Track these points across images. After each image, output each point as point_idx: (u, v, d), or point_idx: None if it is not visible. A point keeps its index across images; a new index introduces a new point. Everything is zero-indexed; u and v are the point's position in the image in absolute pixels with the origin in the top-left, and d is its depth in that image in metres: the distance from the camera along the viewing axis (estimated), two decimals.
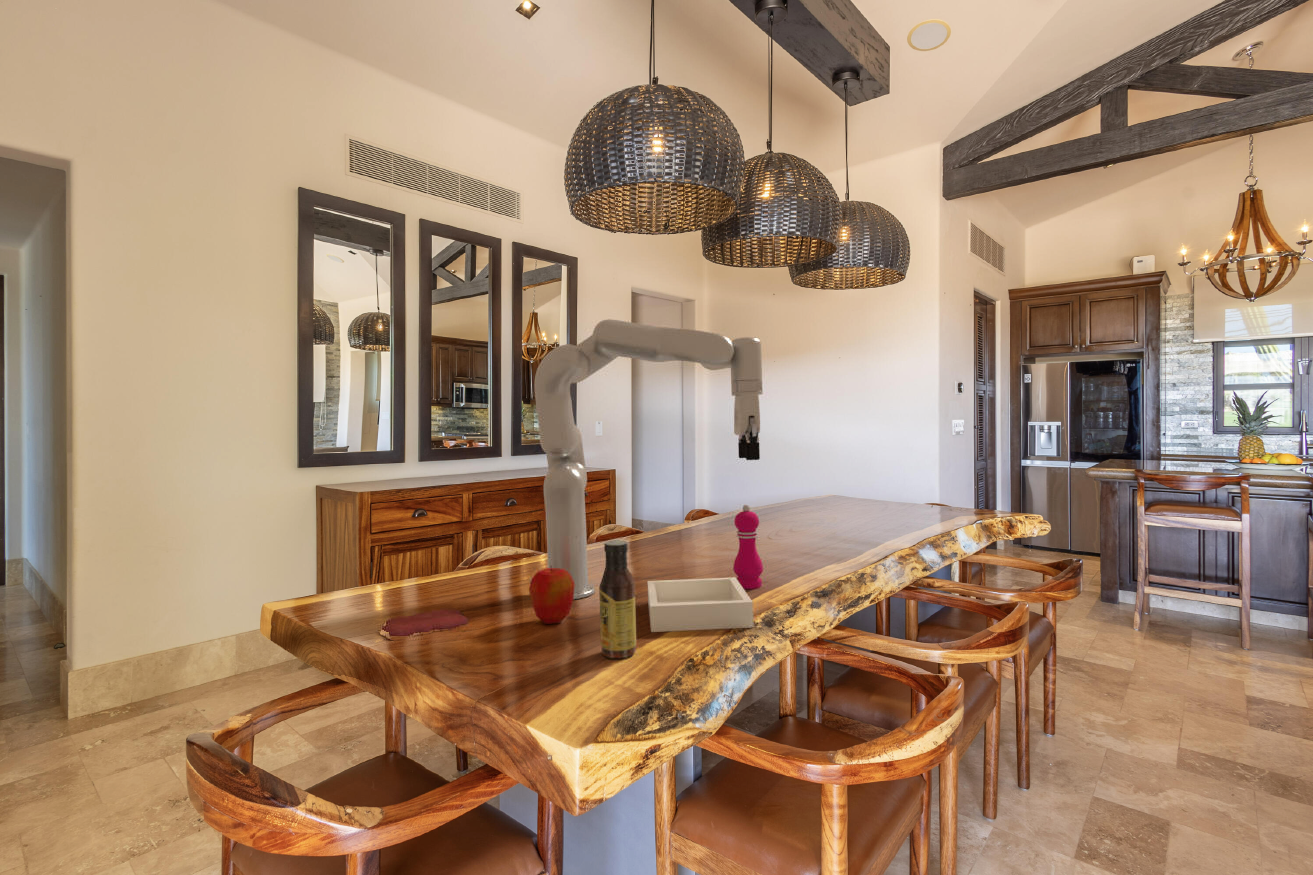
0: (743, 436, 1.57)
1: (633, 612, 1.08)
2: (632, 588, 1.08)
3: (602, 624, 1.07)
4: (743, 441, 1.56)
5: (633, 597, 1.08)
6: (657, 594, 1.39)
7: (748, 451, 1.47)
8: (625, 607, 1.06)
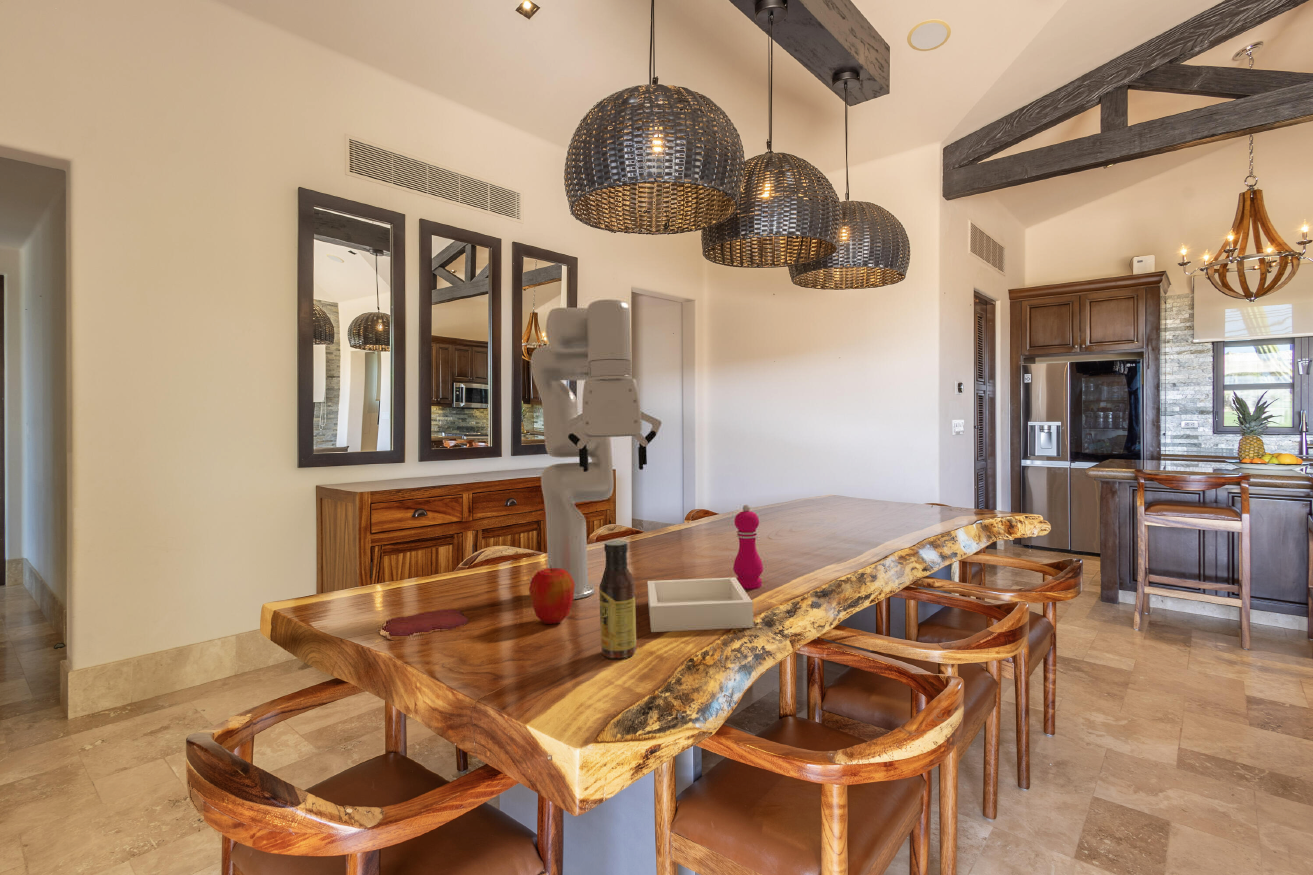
0: (580, 440, 1.08)
1: (633, 612, 1.08)
2: (632, 588, 1.08)
3: (602, 624, 1.07)
4: (585, 447, 1.08)
5: (633, 597, 1.08)
6: (657, 594, 1.39)
7: (642, 457, 1.08)
8: (625, 607, 1.06)
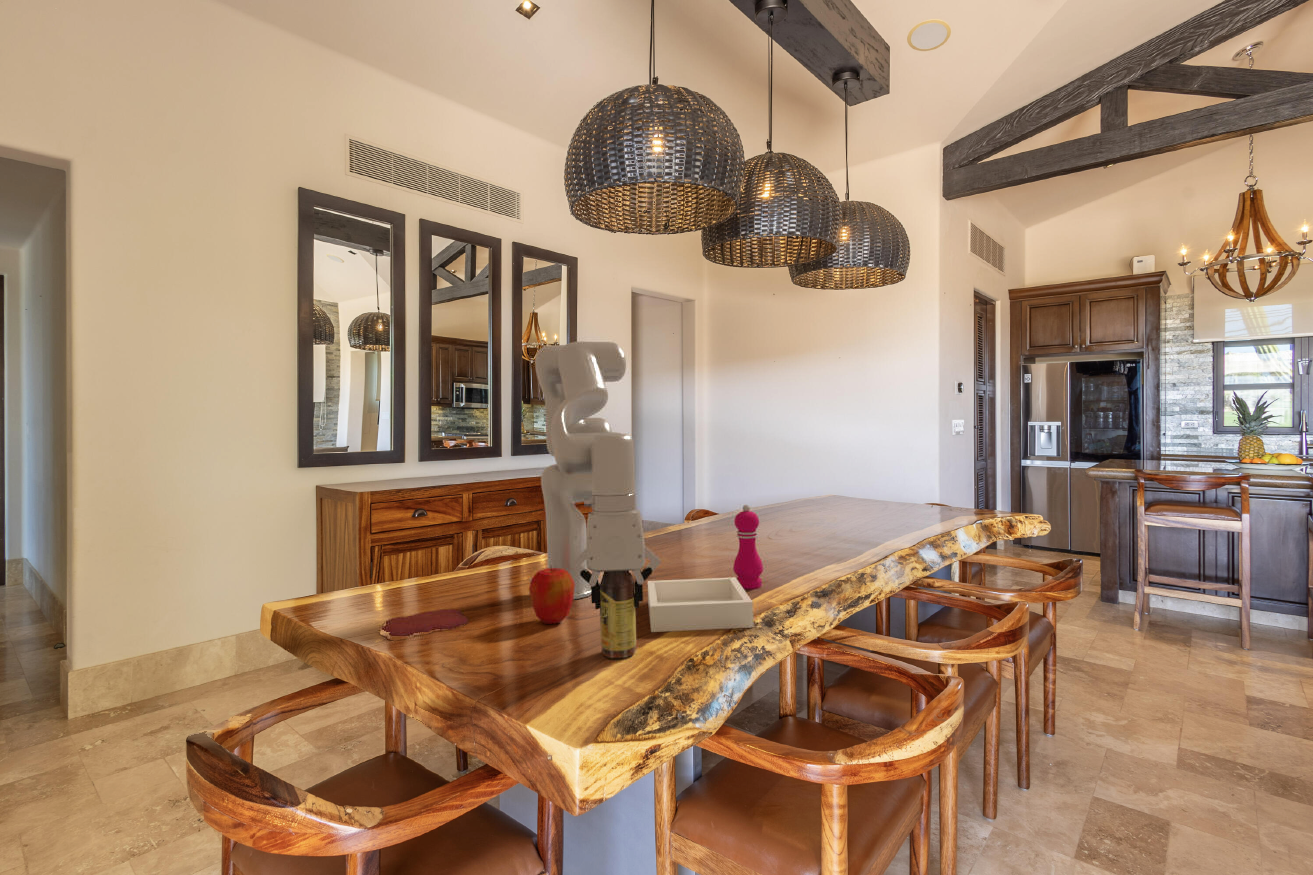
0: None
1: (633, 612, 1.08)
2: (632, 588, 1.08)
3: (602, 624, 1.07)
4: (598, 582, 1.08)
5: (633, 597, 1.08)
6: (657, 594, 1.39)
7: (638, 595, 1.08)
8: (625, 607, 1.06)
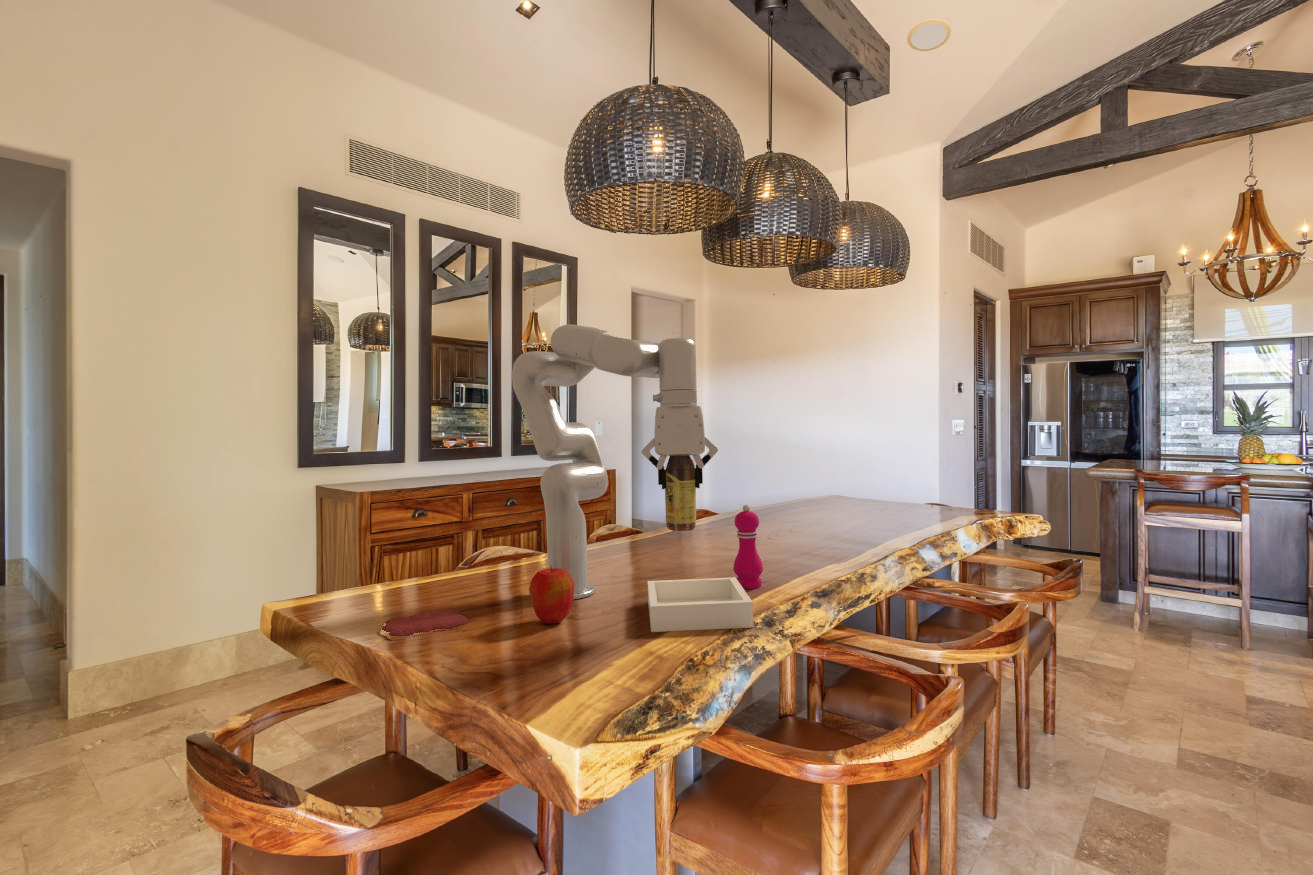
0: None
1: (694, 492, 1.25)
2: (693, 471, 1.25)
3: (667, 502, 1.25)
4: None
5: (694, 479, 1.25)
6: (657, 594, 1.39)
7: (699, 477, 1.25)
8: (688, 486, 1.24)
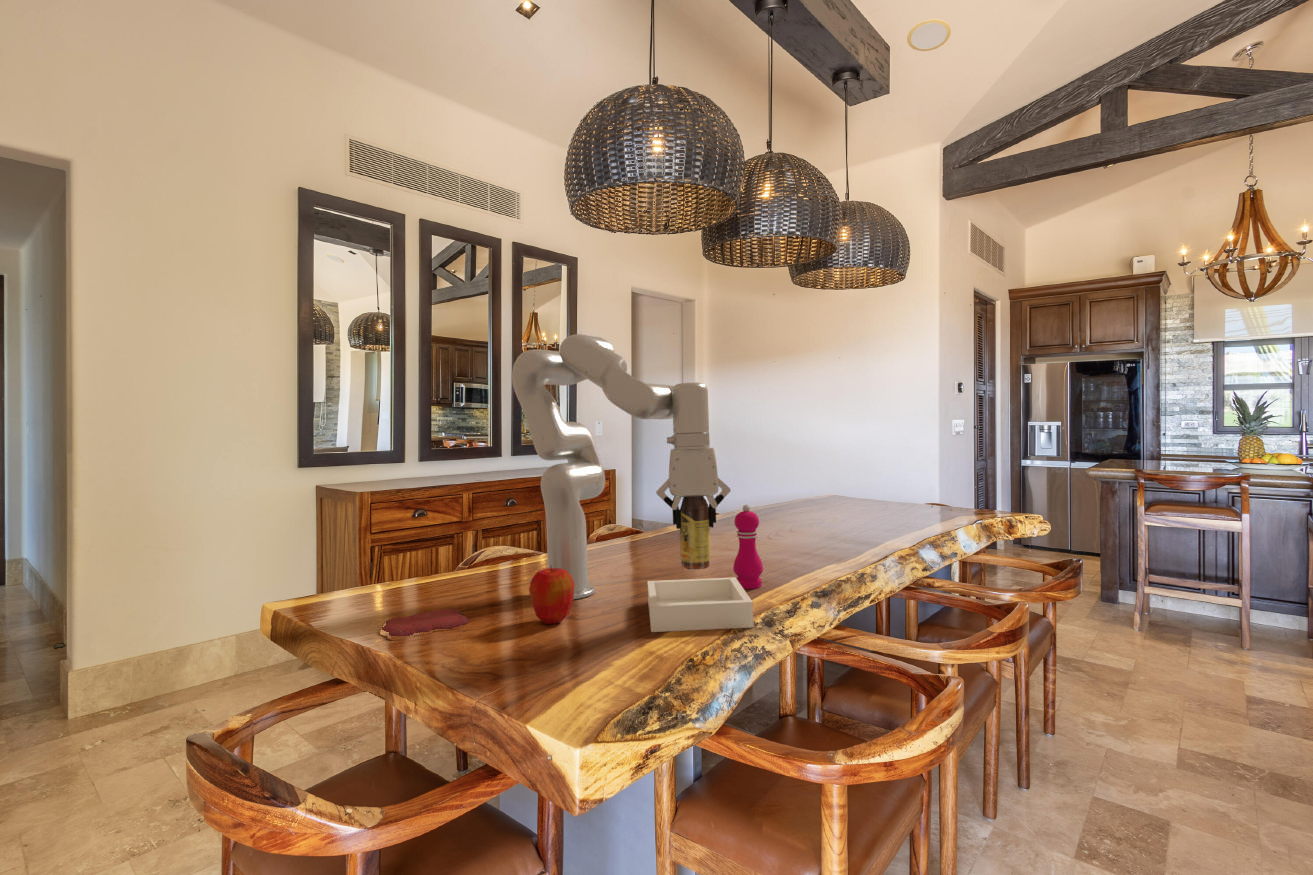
0: None
1: (708, 531, 1.29)
2: (707, 511, 1.29)
3: (683, 541, 1.29)
4: None
5: (708, 519, 1.29)
6: (657, 594, 1.39)
7: (712, 517, 1.29)
8: (703, 526, 1.28)
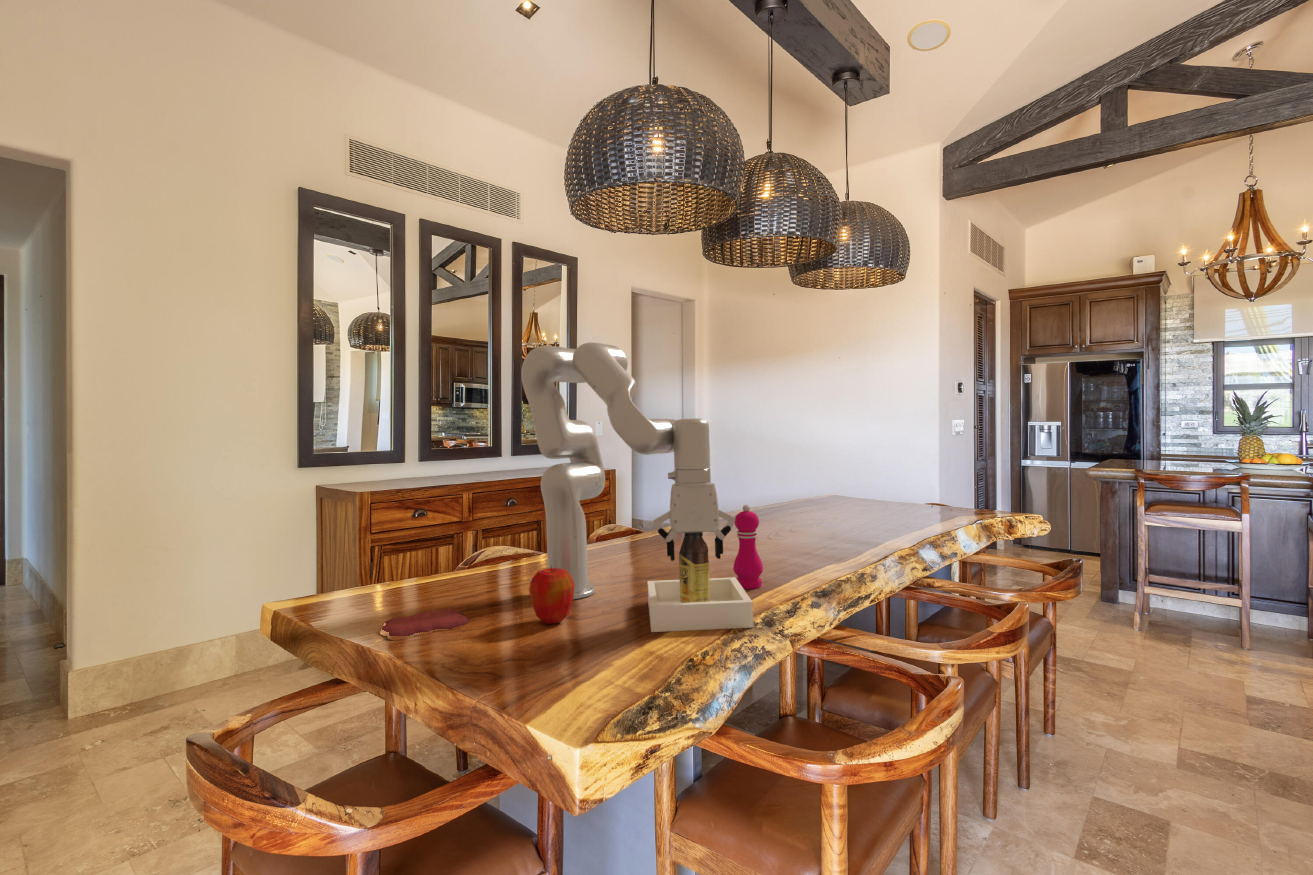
0: (668, 534, 1.30)
1: (708, 574, 1.29)
2: (707, 554, 1.29)
3: (682, 584, 1.29)
4: (672, 539, 1.30)
5: (708, 561, 1.30)
6: (657, 594, 1.39)
7: (719, 548, 1.30)
8: (702, 569, 1.28)
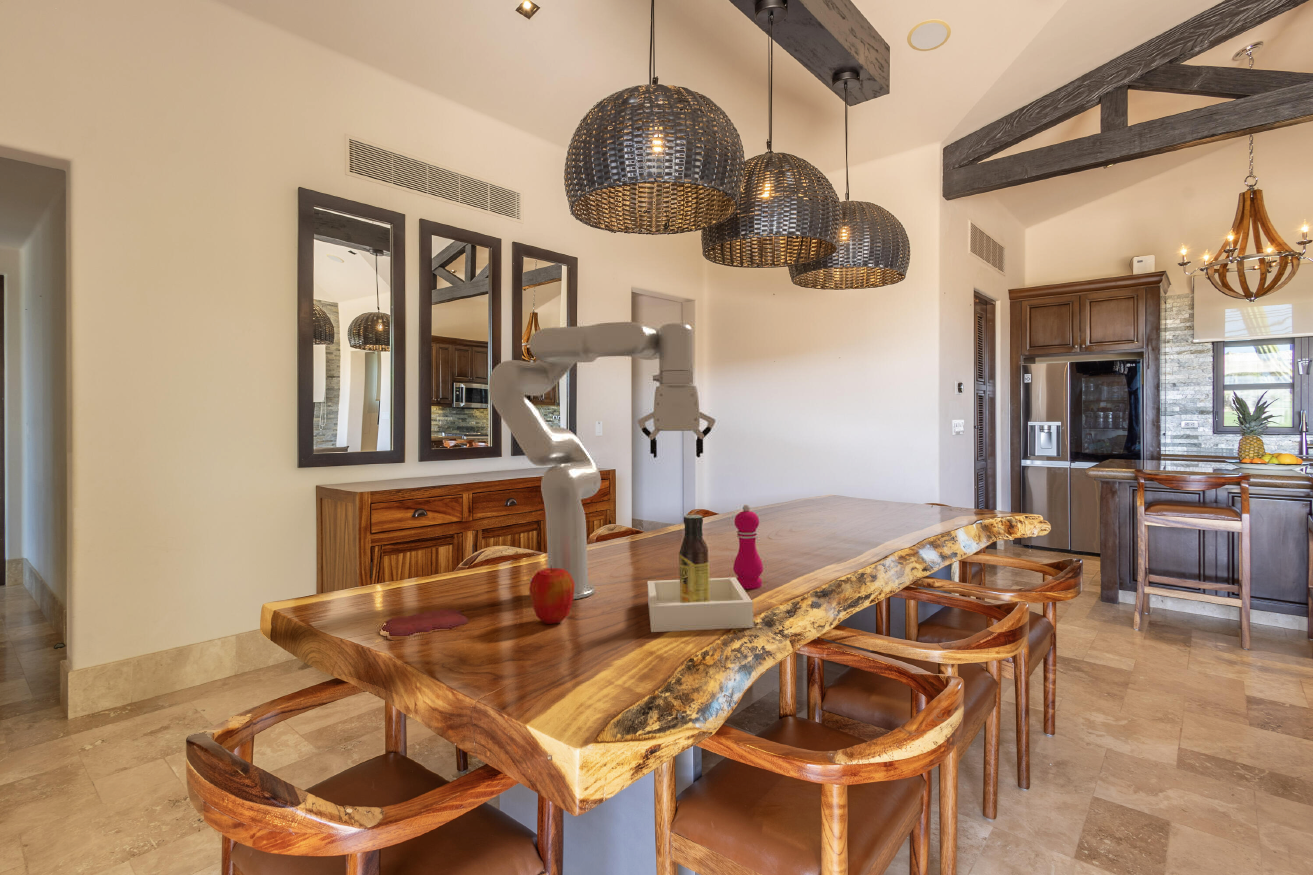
0: (651, 433, 1.38)
1: (708, 574, 1.29)
2: (707, 554, 1.29)
3: (682, 584, 1.29)
4: (655, 438, 1.38)
5: (708, 561, 1.30)
6: (657, 594, 1.39)
7: (700, 448, 1.37)
8: (702, 569, 1.28)
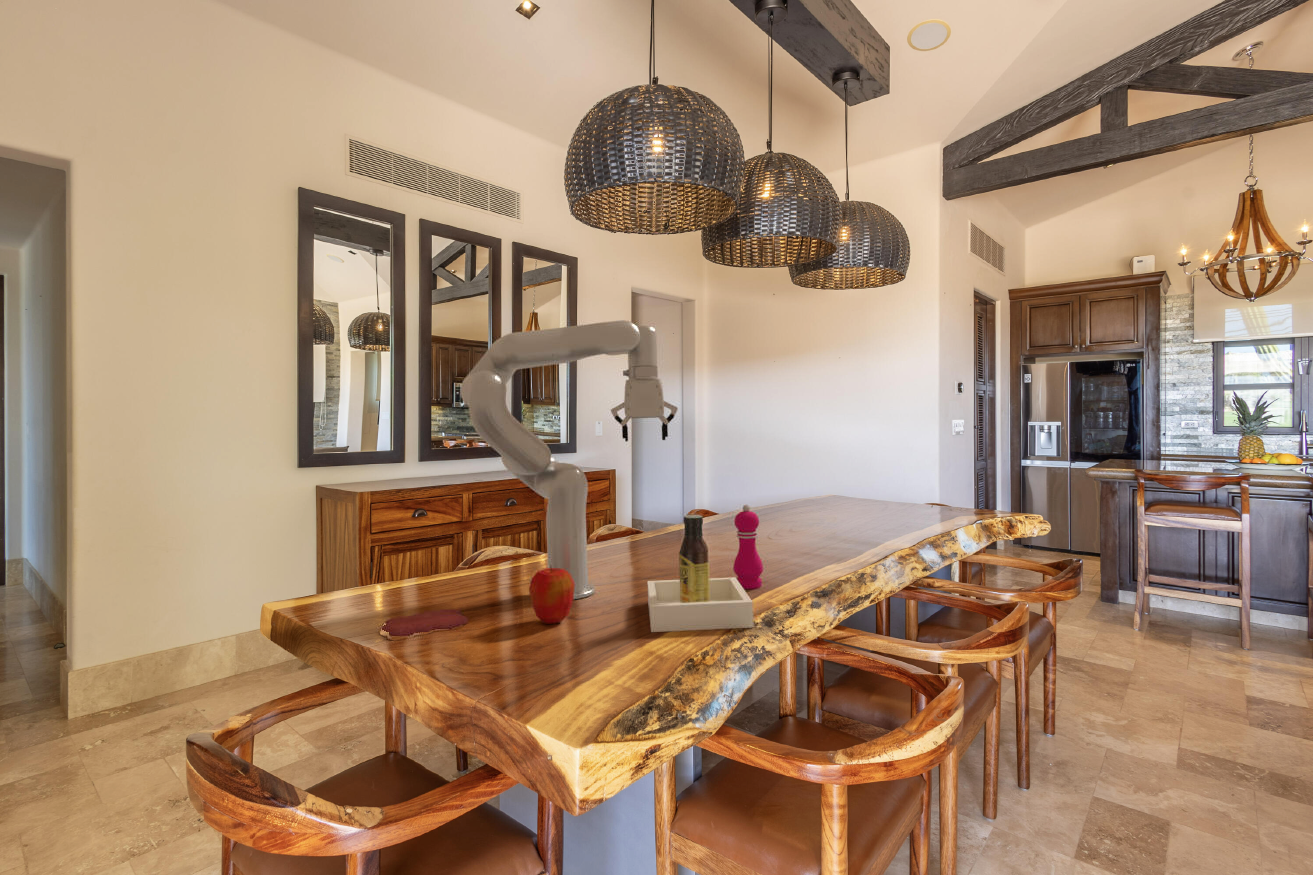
0: (623, 420, 1.60)
1: (708, 574, 1.29)
2: (707, 554, 1.29)
3: (682, 584, 1.29)
4: (626, 425, 1.60)
5: (708, 561, 1.30)
6: (657, 594, 1.39)
7: (665, 432, 1.60)
8: (702, 569, 1.28)
